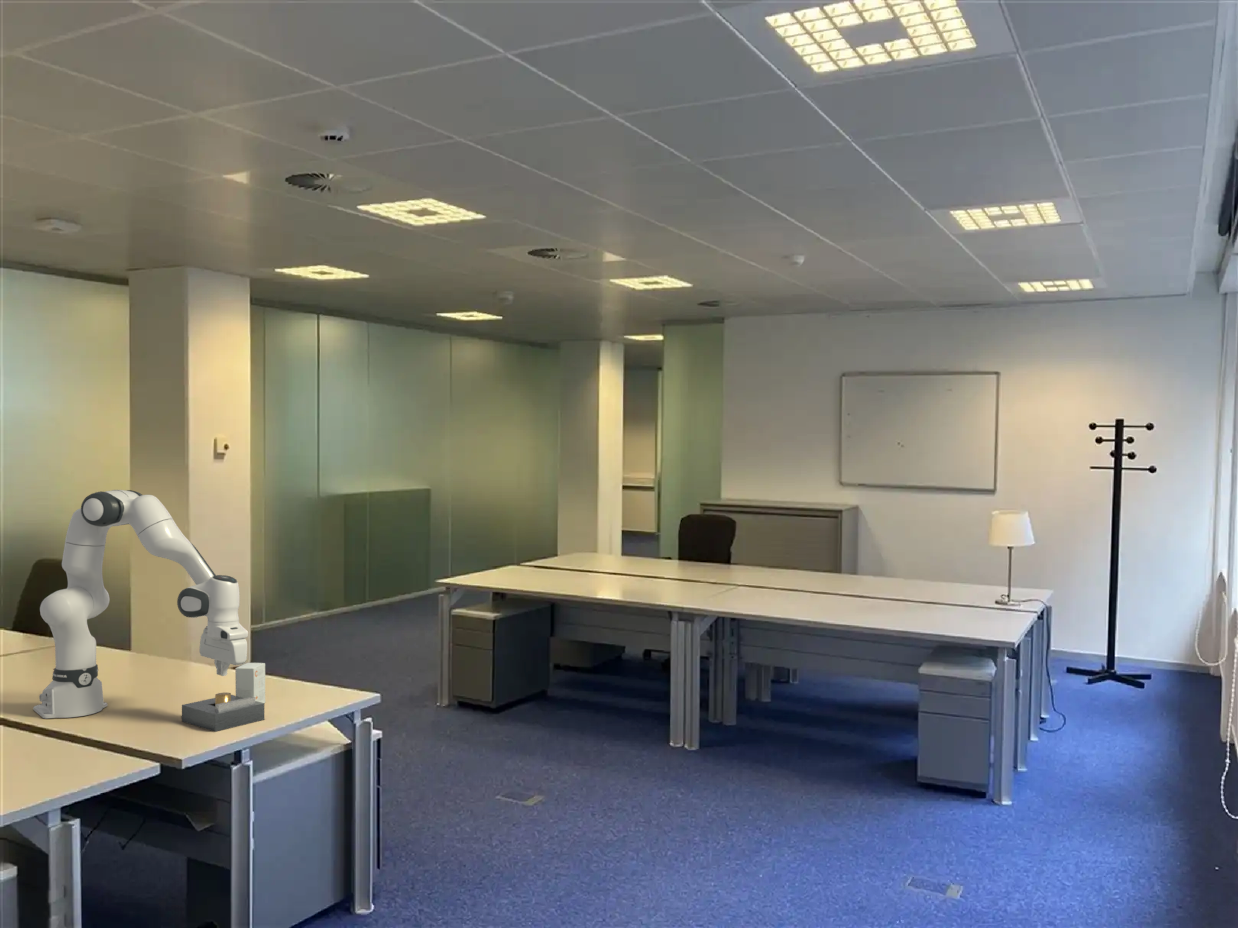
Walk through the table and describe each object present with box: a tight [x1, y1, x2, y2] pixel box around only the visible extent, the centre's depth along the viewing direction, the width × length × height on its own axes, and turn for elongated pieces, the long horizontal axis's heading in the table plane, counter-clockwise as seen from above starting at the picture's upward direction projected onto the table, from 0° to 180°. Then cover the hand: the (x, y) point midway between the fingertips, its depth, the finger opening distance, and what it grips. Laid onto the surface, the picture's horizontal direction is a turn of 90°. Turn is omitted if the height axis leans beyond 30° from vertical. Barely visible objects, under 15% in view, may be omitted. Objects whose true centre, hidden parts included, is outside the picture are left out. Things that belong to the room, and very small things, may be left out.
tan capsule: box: [214, 692, 232, 704], centre depth 293 cm, size 4×4×8 cm
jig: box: [181, 694, 265, 733], centre depth 293 cm, size 18×16×7 cm
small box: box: [234, 662, 266, 704], centre depth 310 cm, size 8×6×13 cm
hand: (221, 674), depth 294 cm, fingers closed
